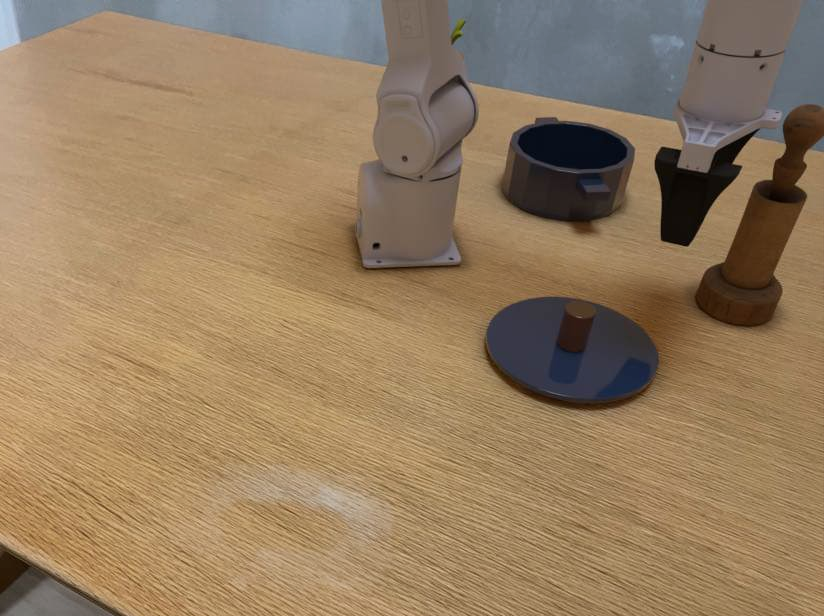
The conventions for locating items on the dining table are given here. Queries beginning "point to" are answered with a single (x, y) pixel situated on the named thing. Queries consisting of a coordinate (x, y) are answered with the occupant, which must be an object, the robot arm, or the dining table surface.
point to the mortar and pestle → (763, 231)
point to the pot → (567, 169)
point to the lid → (572, 349)
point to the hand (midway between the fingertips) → (686, 220)
